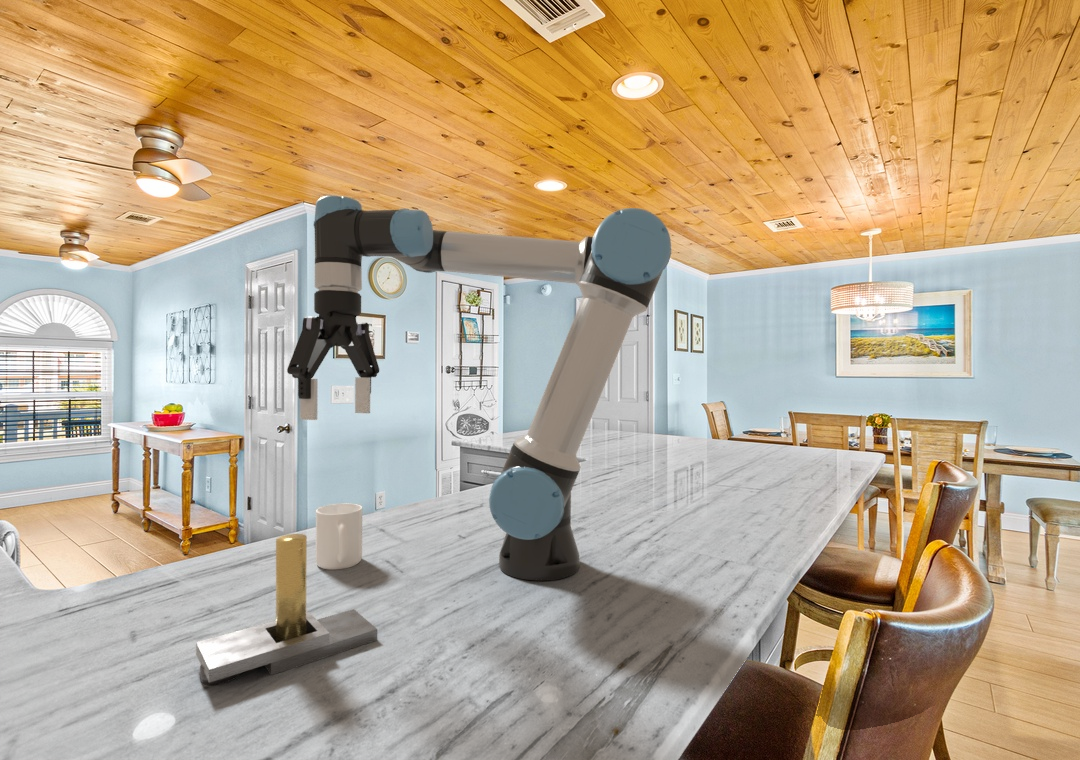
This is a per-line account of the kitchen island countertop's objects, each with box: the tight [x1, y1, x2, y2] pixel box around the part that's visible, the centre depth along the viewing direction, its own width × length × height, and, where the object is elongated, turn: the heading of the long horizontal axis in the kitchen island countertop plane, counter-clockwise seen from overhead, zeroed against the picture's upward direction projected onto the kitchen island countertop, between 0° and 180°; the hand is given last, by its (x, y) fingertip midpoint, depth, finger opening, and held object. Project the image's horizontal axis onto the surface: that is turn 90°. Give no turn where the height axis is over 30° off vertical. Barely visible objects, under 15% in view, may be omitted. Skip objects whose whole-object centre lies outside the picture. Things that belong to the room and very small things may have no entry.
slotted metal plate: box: [195, 608, 378, 686], centre depth 72 cm, size 20×8×3 cm, turn 131°
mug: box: [315, 502, 363, 571], centre depth 103 cm, size 12×8×10 cm
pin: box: [275, 533, 308, 643], centre depth 72 cm, size 4×4×15 cm
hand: (337, 416), depth 94 cm, fingers open, 13 cm apart
